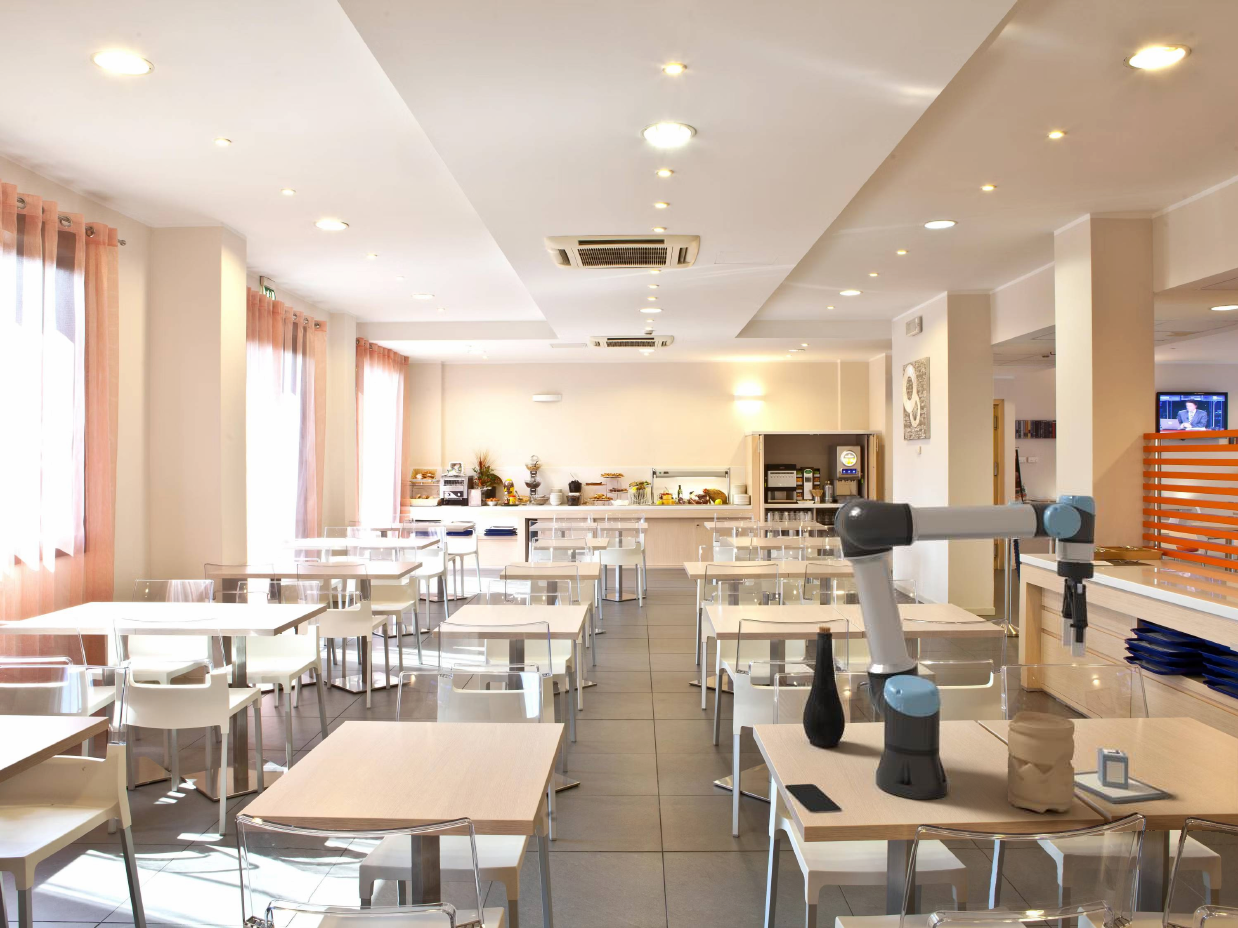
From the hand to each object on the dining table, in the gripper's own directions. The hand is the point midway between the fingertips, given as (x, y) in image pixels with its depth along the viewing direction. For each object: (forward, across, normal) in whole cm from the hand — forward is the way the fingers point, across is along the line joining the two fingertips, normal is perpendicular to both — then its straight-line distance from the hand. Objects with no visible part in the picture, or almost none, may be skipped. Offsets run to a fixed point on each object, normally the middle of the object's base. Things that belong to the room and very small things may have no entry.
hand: (1073, 651), depth 193 cm
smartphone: (+31, -38, +54) cm, 73 cm away
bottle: (+30, +1, +56) cm, 64 cm away
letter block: (+28, -5, -8) cm, 30 cm away
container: (+29, -23, +9) cm, 38 cm away
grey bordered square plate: (+29, -5, -8) cm, 30 cm away
